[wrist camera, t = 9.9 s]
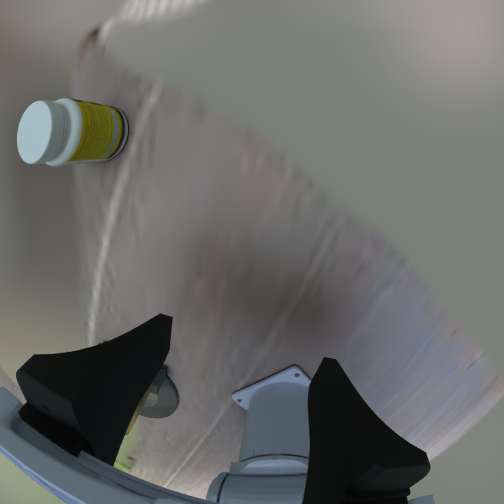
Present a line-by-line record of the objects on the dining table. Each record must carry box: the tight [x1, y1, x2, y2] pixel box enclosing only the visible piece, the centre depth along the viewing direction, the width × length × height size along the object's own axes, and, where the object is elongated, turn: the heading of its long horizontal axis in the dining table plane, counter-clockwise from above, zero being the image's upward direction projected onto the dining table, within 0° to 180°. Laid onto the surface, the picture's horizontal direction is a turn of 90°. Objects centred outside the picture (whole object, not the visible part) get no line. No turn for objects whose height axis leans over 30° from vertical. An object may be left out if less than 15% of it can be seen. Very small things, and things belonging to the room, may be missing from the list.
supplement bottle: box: [17, 98, 128, 166], centre depth 15 cm, size 5×5×8 cm
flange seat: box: [98, 343, 179, 418], centre depth 26 cm, size 11×11×3 cm
